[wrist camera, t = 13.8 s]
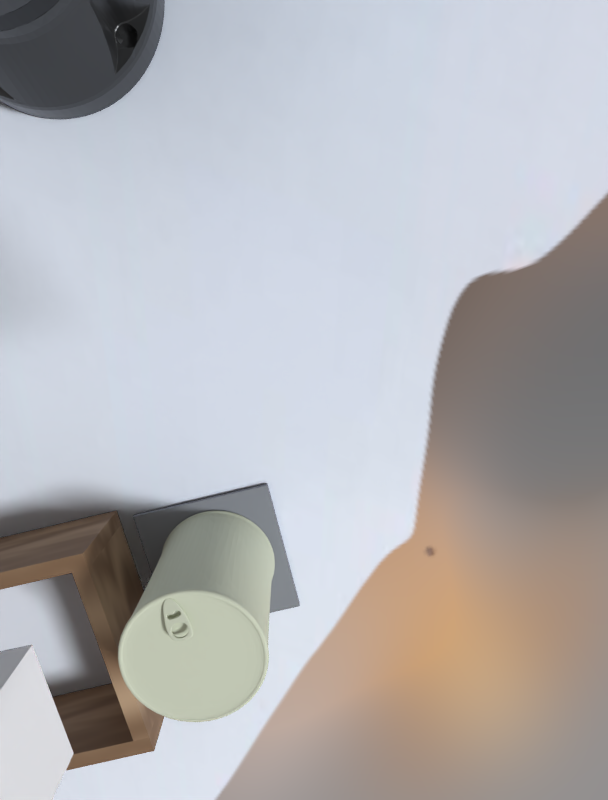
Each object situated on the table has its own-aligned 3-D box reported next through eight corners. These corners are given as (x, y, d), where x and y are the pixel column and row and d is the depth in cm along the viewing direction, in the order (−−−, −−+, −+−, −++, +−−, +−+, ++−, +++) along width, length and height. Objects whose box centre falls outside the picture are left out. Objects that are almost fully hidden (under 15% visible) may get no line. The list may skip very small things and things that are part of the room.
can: (252, 494, 42) (237, 574, 30) (290, 593, 44) (290, 703, 32) (144, 530, 43) (88, 623, 31) (186, 626, 44) (149, 748, 33)
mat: (134, 514, 43) (133, 516, 42) (267, 483, 42) (267, 485, 42) (173, 632, 45) (172, 635, 45) (299, 603, 45) (299, 605, 44)
